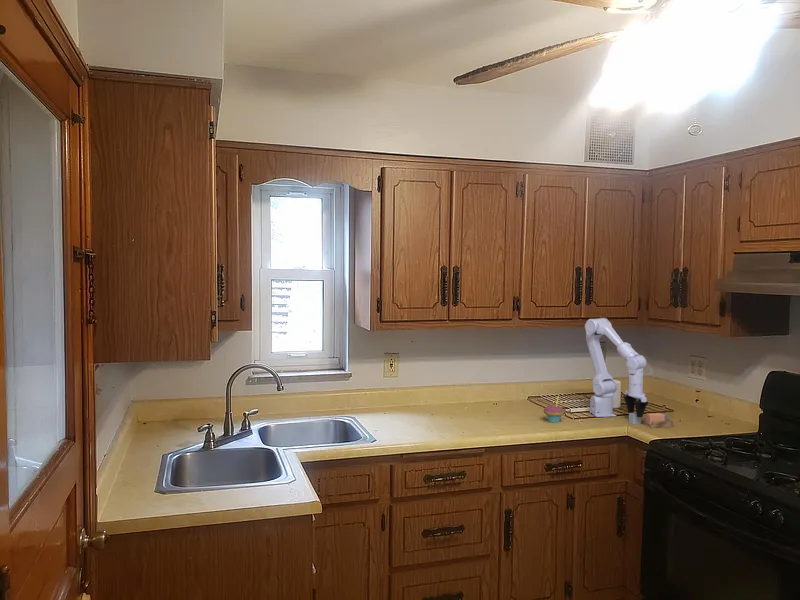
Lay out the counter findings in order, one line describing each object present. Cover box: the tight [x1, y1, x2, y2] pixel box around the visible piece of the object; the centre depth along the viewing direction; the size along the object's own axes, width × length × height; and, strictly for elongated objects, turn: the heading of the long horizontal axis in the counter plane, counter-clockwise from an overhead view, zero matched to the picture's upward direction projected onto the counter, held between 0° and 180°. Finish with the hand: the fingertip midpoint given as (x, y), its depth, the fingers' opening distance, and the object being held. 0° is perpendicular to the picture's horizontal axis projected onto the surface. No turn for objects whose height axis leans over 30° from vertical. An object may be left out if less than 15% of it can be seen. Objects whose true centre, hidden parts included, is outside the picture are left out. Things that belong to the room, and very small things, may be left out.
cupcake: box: [543, 394, 565, 424], centre depth 257 cm, size 9×8×12 cm
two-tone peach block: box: [645, 412, 669, 424], centre depth 252 cm, size 8×4×4 cm, turn 96°
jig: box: [641, 417, 675, 429], centre depth 252 cm, size 10×8×2 cm
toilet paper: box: [602, 379, 622, 409], centre depth 285 cm, size 10×10×12 cm
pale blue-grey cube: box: [628, 412, 642, 425], centre depth 255 cm, size 4×4×4 cm
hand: (635, 414), depth 255 cm, fingers open, 7 cm apart
